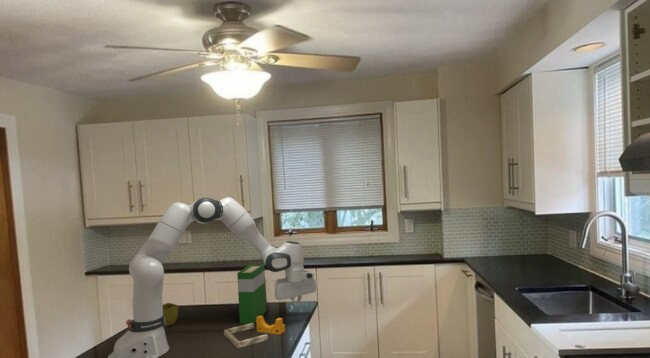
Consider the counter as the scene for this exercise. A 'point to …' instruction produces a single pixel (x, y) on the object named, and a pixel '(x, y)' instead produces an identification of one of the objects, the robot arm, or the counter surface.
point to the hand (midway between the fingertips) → (296, 305)
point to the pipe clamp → (272, 329)
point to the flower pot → (170, 313)
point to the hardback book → (251, 293)
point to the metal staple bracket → (246, 342)
